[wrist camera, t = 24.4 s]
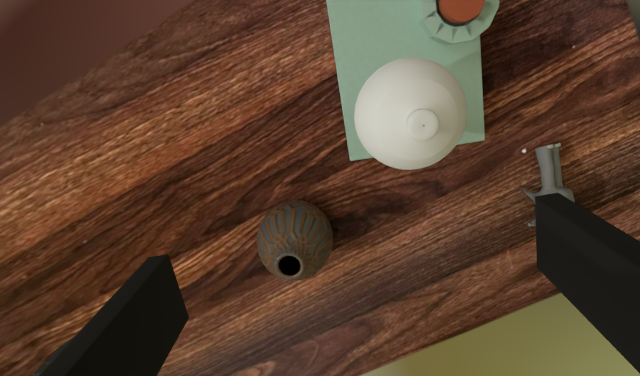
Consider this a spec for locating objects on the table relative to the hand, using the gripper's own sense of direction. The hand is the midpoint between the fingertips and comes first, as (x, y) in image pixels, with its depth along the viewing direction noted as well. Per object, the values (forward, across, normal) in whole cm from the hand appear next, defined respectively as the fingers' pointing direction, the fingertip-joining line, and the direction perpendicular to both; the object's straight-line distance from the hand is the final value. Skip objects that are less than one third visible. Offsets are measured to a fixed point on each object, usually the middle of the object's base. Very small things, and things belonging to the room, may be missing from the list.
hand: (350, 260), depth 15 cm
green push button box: (+25, +7, +5) cm, 26 cm away
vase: (+25, -6, -8) cm, 27 cm away
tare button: (+21, +11, +9) cm, 26 cm away
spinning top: (+23, +5, +2) cm, 24 cm away
